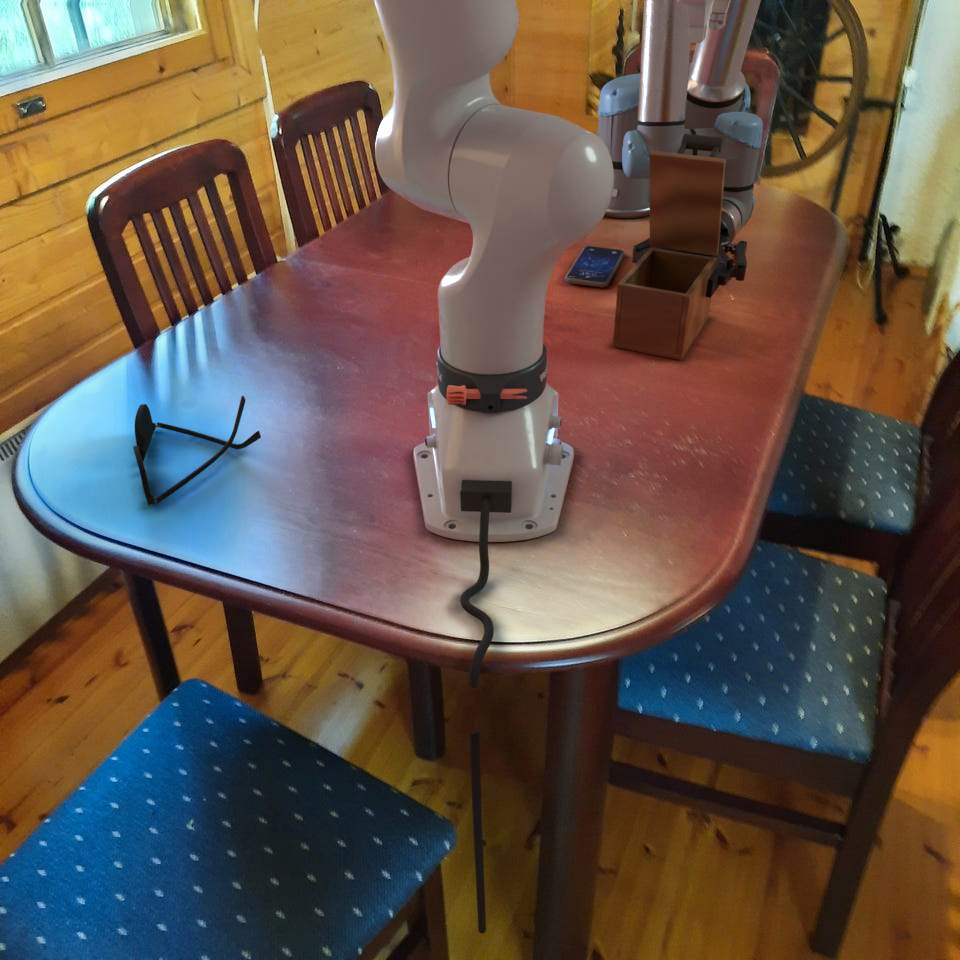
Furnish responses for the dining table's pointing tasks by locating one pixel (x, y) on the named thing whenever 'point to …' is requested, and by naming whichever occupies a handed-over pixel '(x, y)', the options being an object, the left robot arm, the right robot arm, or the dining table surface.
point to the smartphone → (595, 266)
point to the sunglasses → (147, 427)
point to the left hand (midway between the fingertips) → (706, 35)
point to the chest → (663, 303)
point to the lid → (687, 196)
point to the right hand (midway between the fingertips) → (672, 282)
